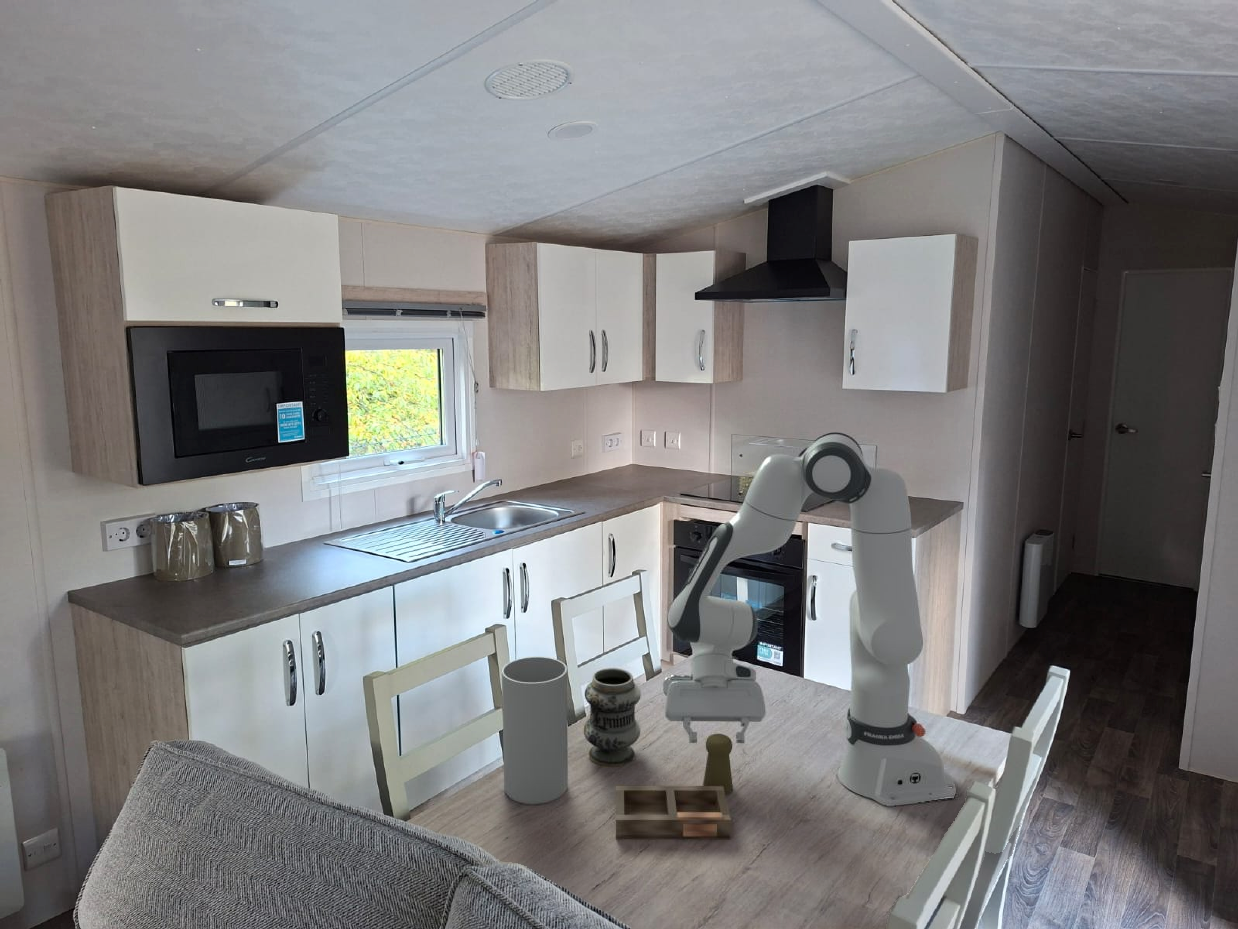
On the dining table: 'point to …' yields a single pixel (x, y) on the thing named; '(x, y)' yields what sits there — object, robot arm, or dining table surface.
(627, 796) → the spice rack
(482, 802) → the dining table surface
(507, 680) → the cylinder vase
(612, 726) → the apothecary jar
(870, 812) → the dining table surface
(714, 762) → the olive round-topped post
